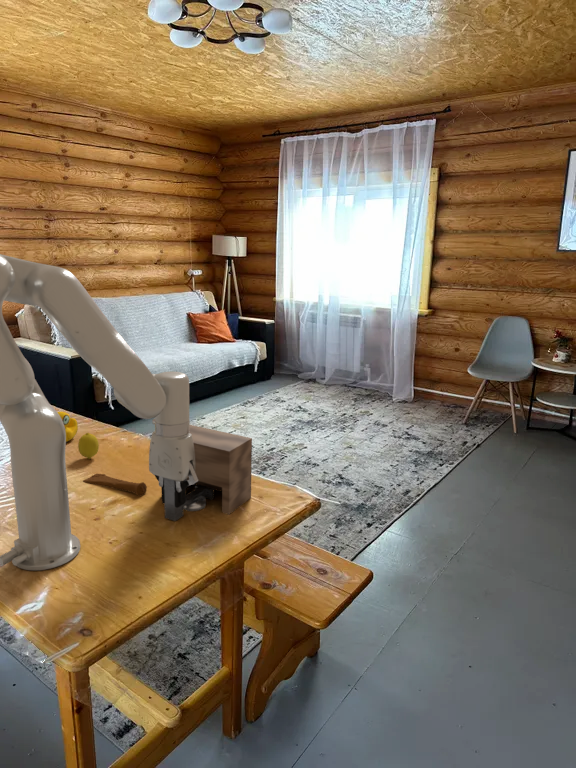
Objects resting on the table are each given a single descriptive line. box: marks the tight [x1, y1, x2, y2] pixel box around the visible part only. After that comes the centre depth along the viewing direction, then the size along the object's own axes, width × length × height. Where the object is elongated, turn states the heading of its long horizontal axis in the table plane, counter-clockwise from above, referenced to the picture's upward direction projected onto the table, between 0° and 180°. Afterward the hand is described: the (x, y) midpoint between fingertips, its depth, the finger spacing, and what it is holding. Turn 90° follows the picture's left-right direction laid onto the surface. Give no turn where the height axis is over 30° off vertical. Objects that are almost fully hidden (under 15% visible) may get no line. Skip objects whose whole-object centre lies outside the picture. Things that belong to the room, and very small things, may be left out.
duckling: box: [57, 410, 79, 443], centre depth 166 cm, size 11×5×10 cm, turn 164°
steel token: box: [183, 496, 207, 512], centre depth 129 cm, size 6×6×2 cm
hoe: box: [164, 478, 215, 522], centre depth 126 cm, size 14×5×12 cm, turn 153°
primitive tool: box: [82, 473, 148, 497], centre depth 138 cm, size 19×6×4 cm, turn 64°
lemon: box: [77, 432, 100, 460], centre depth 154 cm, size 6×6×8 cm
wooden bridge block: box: [187, 424, 253, 515], centre depth 132 cm, size 10×20×16 cm, turn 63°
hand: (173, 502), depth 122 cm, fingers closed on hoe, 3 cm apart
